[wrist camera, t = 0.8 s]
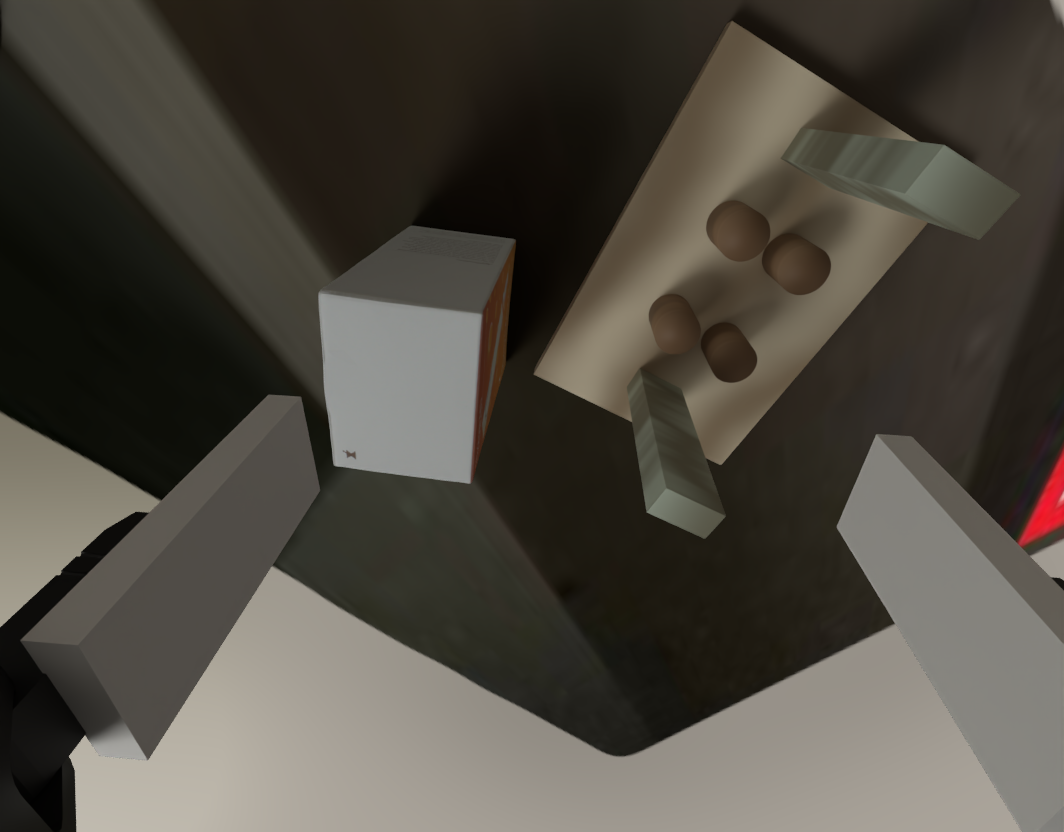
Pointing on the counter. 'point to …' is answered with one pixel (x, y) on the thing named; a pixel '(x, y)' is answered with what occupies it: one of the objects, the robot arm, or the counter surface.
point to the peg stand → (747, 260)
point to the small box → (417, 352)
